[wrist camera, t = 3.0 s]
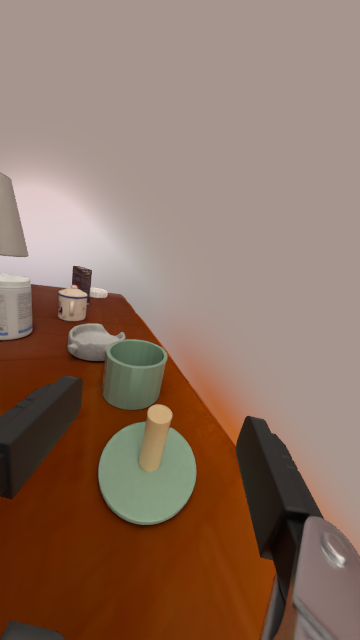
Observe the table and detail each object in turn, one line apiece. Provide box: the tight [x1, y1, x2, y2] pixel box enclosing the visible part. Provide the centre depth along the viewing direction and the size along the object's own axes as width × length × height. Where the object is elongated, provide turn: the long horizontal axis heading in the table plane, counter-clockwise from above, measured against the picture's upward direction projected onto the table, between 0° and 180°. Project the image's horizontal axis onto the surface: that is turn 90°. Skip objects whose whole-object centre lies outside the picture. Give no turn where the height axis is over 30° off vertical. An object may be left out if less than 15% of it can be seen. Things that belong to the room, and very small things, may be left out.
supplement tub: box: [0, 274, 32, 340], centre depth 47 cm, size 10×10×15 cm
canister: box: [102, 339, 168, 410], centre depth 37 cm, size 11×11×8 cm
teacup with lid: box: [58, 285, 88, 321], centre depth 66 cm, size 12×9×12 cm
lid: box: [98, 405, 196, 525], centre depth 24 cm, size 12×12×9 cm
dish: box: [67, 324, 125, 361], centre depth 50 cm, size 14×14×5 cm
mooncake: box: [90, 287, 108, 298], centre depth 107 cm, size 12×12×4 cm
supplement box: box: [72, 266, 92, 305], centre depth 86 cm, size 9×5×16 cm, turn 50°
